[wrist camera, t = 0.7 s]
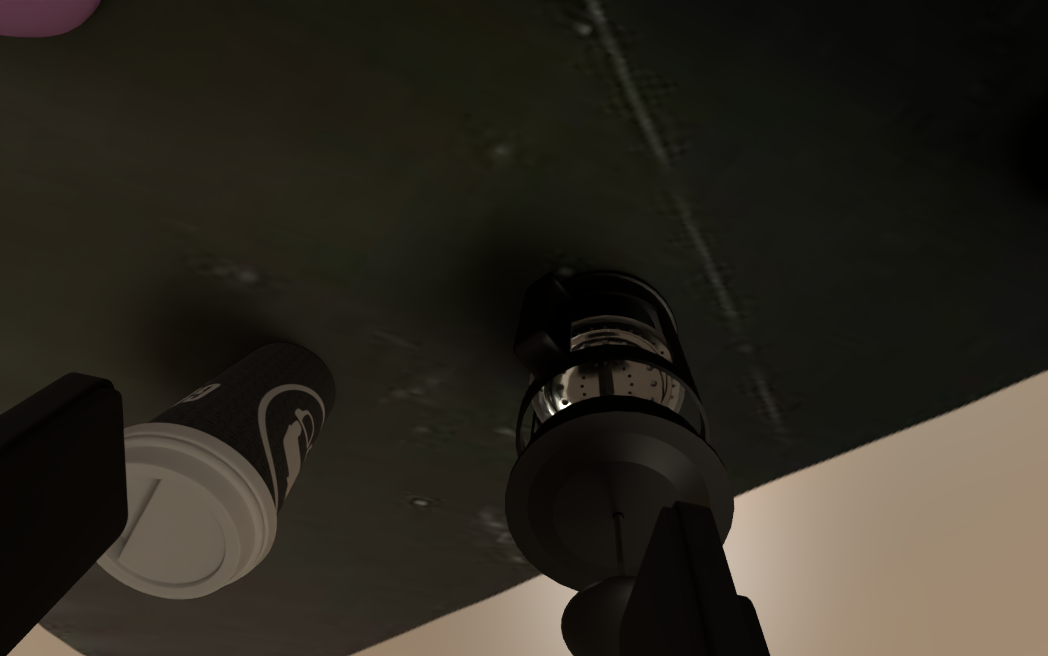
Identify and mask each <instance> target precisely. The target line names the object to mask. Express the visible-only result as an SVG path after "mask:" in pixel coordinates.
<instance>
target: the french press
mask: <svg viewBox="0 0 1048 656" xmlns="http://www.w3.org/2000/svg"><path fill="white" fill-rule="evenodd" d="M600 294H609V295H620V296H624V297H626V298H628V299H630V300H633V301H634V302H636V303H637V304H638V305H640V306H641V307H642V308H643V309H644V310H645V311H646V312H647V313H648V314H649V316H650V317H651V319H652V321H653V322H654V324H655V327H656V330H657V331H656V330H655V329H653V328H652V327H651V326H649V325H647V324H644V323H642V322H640V321H637V320H635V319H631V318H626V317H622V316H613V315H600V316H590V317H586V318H582V319H579V320H576V321H574V322H572V321H573V301H575V300H578V299H580V298H583V297H586V296H593V295H600ZM513 350H514V353H515V354H516V356H517V357H518V358H519V359H520V360H521V362H522V363H523V364H524V365H525V366H526V368H527V369H528V370H529V371H530V386H529V388H528V390H527V392H526V394H525V396H524V398H523V400H522V403H521V407H520V411H519V415H518V421H517V427H516V449H517V454H518V459H517V461H516V463H515V465H514V467H513V469H512V471H511V473H510V477H509V480H508V484H507V488H506V493H505V514H506V518H507V522H508V527H509V531H510V533H511V535H512V537H513V539H514V541H515V543H516V545H517V547H518V548H519V549H520V551H521V552H522V553H523V555H524V556H525V557H526V558H527V560H528V561H529V562H530V563H531V564H532V565H534V566H535V567H536V568H537V569H538V570H539V571H540V572H542V573H543V574H544V575H546V576H548V577H549V578H551V579H552V580H554V581H556V582H557V583H559V584H561V585H564V586H566V587H569V588H571V589H574V590H576V591H579V592H578V593H577V594H576V595H575V596H574V597H573V598H572V599H571V600H570V602H569V603H568V605H567V606H566V608H565V610H564V613H563V616H562V621H561V630H562V635H563V639H564V641H565V643H566V645H567V647H568V649H569V650H570V652H571V653H572V654H573V656H620V652H619V631H620V625H621V620H622V617H623V614H624V611H625V609H626V606H627V603H628V600H629V597H630V595H631V592H632V589H633V586H634V583H635V580H636V578H637V575H638V572H639V569H640V566H641V563H642V561H643V558H644V555H645V552H646V549H647V546H648V544H649V541H650V538H651V535H652V532H653V529H654V527H655V524H656V521H657V518H658V515H659V513H660V510H661V509H662V507H669V508H672V505H673V504H674V502H675V501H682V502H687V503H692V504H696V505H701V506H706V507H709V508H710V509H711V511H712V513H713V516H714V520H715V523H716V526H717V530H718V533H719V536H720V540H721V543H722V546H723V544H724V542H725V540H726V538H727V535H728V533H729V531H730V528H731V524H732V519H733V512H734V497H733V489H732V485H731V482H730V479H729V476H728V473H727V470H726V468H725V466H724V464H723V463H722V461H721V459H720V458H719V456H718V455H717V453H716V451H715V450H714V449H713V448H712V447H711V446H710V430H709V423H708V420H707V417H706V414H705V411H704V408H703V405H702V402H701V399H700V397H699V394H698V391H697V388H696V386H695V383H694V380H693V378H692V375H691V372H690V369H689V367H688V364H687V361H686V358H685V356H684V353H683V350H682V347H681V345H680V342H679V339H678V328H677V324H676V321H675V318H674V315H673V312H672V310H671V309H670V307H669V305H668V304H667V302H666V300H665V299H664V298H663V297H662V296H661V295H660V293H659V292H658V291H657V290H656V289H655V288H653V287H652V286H650V285H649V284H648V283H646V282H645V281H643V280H641V279H639V278H637V277H634V276H632V275H630V274H626V273H621V272H617V271H601V270H599V271H592V272H586V273H582V274H579V275H576V276H574V277H571V278H569V279H567V280H565V281H564V282H562V283H561V282H560V281H559V280H558V278H557V277H556V276H555V275H554V273H553V272H549V273H547V274H546V275H544V276H543V277H542V278H540V279H539V280H537V281H536V282H535V283H533V284H532V285H531V286H529V287H528V288H527V289H526V293H525V297H524V302H523V306H522V311H521V315H520V320H519V324H518V329H517V333H516V337H515V342H514V347H513ZM685 389H686V390H687V392H688V393H689V394H690V395H691V396H692V398H693V399H694V401H695V403H696V404H697V406H698V407H699V410H700V417H701V432H700V435H699V434H698V433H697V431H696V430H695V429H694V428H693V427H692V426H691V425H690V424H689V423H688V422H687V421H686V420H685V419H684V418H683V417H682V416H680V415H679V414H678V412H679V410H680V407H681V405H682V402H683V399H684V393H685ZM531 401H532V405H533V407H534V414H533V422H532V430H531V438H530V441H529V443H528V445H527V447H526V448H525V445H524V440H523V435H522V420H523V416H524V414H525V412H526V410H527V408H528V406H529V404H530V402H531Z"/></svg>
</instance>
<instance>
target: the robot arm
mask: <svg viewBox="0 0 1048 656" xmlns="http://www.w3.org/2000/svg"><path fill="white" fill-rule="evenodd" d="M127 520H128V500H127V481H126V463H125V445H124V426H123V408H122V397H121V394H120V392H119V391H117V390H114V386H113V384H112V382H111V381H109V380H107V379H103V378H99V377H94V376H89V375H85V374H80V373H69V374H66V375H64V376H63V377H61V378H59V379H58V380H56V381H55V382H53V383H51V384H50V385H48V386H47V387H45V388H43V389H42V390H40V391H39V392H37V393H35V394H34V395H32V396H30V397H29V398H27V399H26V400H24V401H22V402H21V403H19V404H18V405H16V406H14V407H13V408H11V409H9V410H8V411H6V412H5V413H3V414H1V415H0V656H7V654H9V652H10V651H11V650H12V649H13V648H14V647H15V646H16V645H17V644H18V643H19V642H20V641H21V640H22V639H23V638H24V637H25V636H26V635H27V633H29V632H30V630H31V629H32V628H33V627H34V626H35V625H36V624H37V623H38V622H39V621H40V620H41V619H42V618H43V617H44V616H45V615H46V614H47V613H48V612H49V611H50V609H51V608H52V607H53V606H54V605H55V604H56V603H57V602H58V601H59V600H60V599H61V598H62V597H63V596H64V595H65V594H66V593H67V592H68V591H69V590H70V589H71V587H72V586H73V585H74V584H75V583H76V582H77V581H78V580H79V579H80V578H81V577H82V576H83V575H84V574H85V573H86V572H87V571H88V570H89V569H90V568H91V566H92V565H93V564H94V563H95V562H96V561H97V560H98V559H99V558H100V557H101V556H102V555H103V554H104V553H105V552H106V551H107V550H108V549H109V548H110V547H111V546H112V544H113V543H114V542H115V541H116V540H117V539H118V538H119V537H120V536H121V534H122V533H123V531H124V529H125V527H126V524H127ZM619 652H620V656H770V654H769V650H768V647H767V644H766V641H765V638H764V635H763V632H762V629H761V626H760V623H759V620H758V617H757V614H756V610H755V608H754V606H753V604H752V602H751V600H750V599H748V597H745V596H741V595H737V593H736V590H735V586H734V583H733V580H732V576H731V573H730V570H729V566H728V563H727V560H726V556H725V553H724V550H723V546H722V543H721V540H720V536H719V533H718V530H717V526H716V523H715V520H714V516H713V513H712V511H711V509H710V508H709V507H706V506H701V505H696V504H692V503H687V502H682V501H675V502H674V504H673V505H672V508H669V507H662V509H661V510H660V513H659V515H658V518H657V521H656V524H655V527H654V529H653V532H652V535H651V538H650V541H649V544H648V546H647V549H646V552H645V555H644V558H643V561H642V563H641V566H640V569H639V572H638V575H637V578H636V580H635V583H634V586H633V589H632V592H631V595H630V597H629V600H628V603H627V606H626V609H625V611H624V614H623V617H622V620H621V625H620V631H619Z"/></svg>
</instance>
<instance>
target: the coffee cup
mask: <svg viewBox="0 0 1048 656" xmlns="http://www.w3.org/2000/svg"><path fill="white" fill-rule="evenodd" d="M334 400H335V385H334V381H333V378H332V376H331V374H330V372H329V370H328V369H327V367H326V366H325V364H324V363H323V362H322V361H321V360H320V359H319V358H318V357H317V356H315V355H314V354H313V353H311V352H310V351H308V350H306V349H304V348H302V347H300V346H297V345H293V344H289V343H272V344H267V345H264V346H262V347H260V348H258V349H256V350H255V351H253V352H252V353H250V354H249V355H248V356H246V357H245V358H243V359H242V360H240V361H239V362H237V363H236V364H234V365H233V366H231V367H230V368H228V369H227V370H225V371H224V372H223V373H221V374H220V375H218V376H217V377H215V378H214V379H212V380H211V381H209V382H208V383H206V384H205V385H203V386H202V387H200V388H199V389H197V390H196V391H194V392H193V393H192V394H190V395H189V396H187V397H186V398H184V399H183V400H181V401H180V402H178V403H177V404H175V405H174V406H172V407H171V408H169V409H168V410H166V411H165V412H163V413H162V414H160V415H159V416H157V417H156V418H154V419H153V420H151V421H150V422H148V423H145V424H138V425H134V426H131V427H127V428H125V429H124V445H125V463H126V481H127V500H128V520H127V524H126V527H125V529H124V531H123V533H122V534H121V536H120V537H119V538H118V539H117V540H116V541H115V542H114V543H113V544H112V546H111V547H110V548H109V549H108V550H107V551H106V552H105V553H104V554H103V555H102V556H101V557H100V558H99V559H98V560H97V561H96V562H97V563H98V564H99V565H100V566H101V567H102V568H103V569H104V570H106V571H107V572H108V573H109V574H110V575H112V576H113V577H115V578H116V579H118V580H119V581H121V582H122V583H124V584H126V585H128V586H130V587H132V588H134V589H136V590H138V591H141V592H144V593H146V594H150V595H153V596H157V597H162V598H169V599H191V598H197V597H201V596H205V595H208V594H210V593H212V592H214V591H216V590H218V589H220V588H221V587H222V586H225V585H228V584H230V583H232V582H234V581H236V580H238V579H239V578H241V577H242V576H244V575H246V574H247V573H248V572H250V571H251V570H252V569H253V568H254V567H255V566H257V565H258V564H259V563H260V562H261V561H262V560H263V559H264V558H265V556H266V555H267V554H268V552H269V550H270V549H271V547H272V544H273V542H274V539H275V535H276V528H277V515H278V513H279V511H280V509H281V507H282V505H283V503H284V501H285V499H286V497H287V495H288V493H289V491H290V489H291V487H292V485H293V483H294V481H295V479H296V477H297V475H298V473H299V471H300V469H301V467H302V465H303V463H304V461H305V459H306V457H307V455H308V453H309V452H310V450H311V448H312V446H313V444H314V442H315V440H316V438H317V436H318V434H319V432H320V430H321V428H322V426H323V424H324V422H325V420H326V418H327V416H328V415H329V413H330V411H331V409H332V406H333V404H334Z"/></svg>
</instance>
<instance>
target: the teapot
mask: <svg viewBox="0 0 1048 656" xmlns="http://www.w3.org/2000/svg"><path fill="white" fill-rule="evenodd" d="M100 2H101V0H0V35H3V36H14V37H48V36H54V35H59V34H63V33H66V32H68V31H70V30H72V29H74V28H76V27H78V26H80V25H81V24H82V23H83V22H84V21H85V20H86V19H87V18H89V17H90V16H91V15H92V13H93V12H94V11H95V10H96V8H97V7H98V5H99V3H100Z"/></svg>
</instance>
